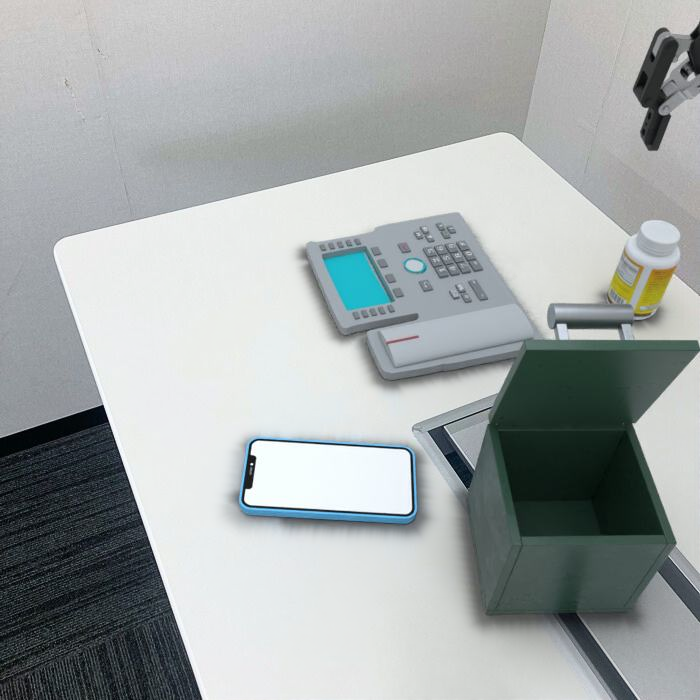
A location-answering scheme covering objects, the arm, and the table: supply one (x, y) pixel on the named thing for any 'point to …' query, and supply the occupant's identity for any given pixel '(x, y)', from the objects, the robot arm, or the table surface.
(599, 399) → the bin lid
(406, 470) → the smartphone
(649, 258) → the supplement bottle
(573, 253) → the table surface
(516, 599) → the waste bin
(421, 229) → the office telephone
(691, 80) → the robot arm
